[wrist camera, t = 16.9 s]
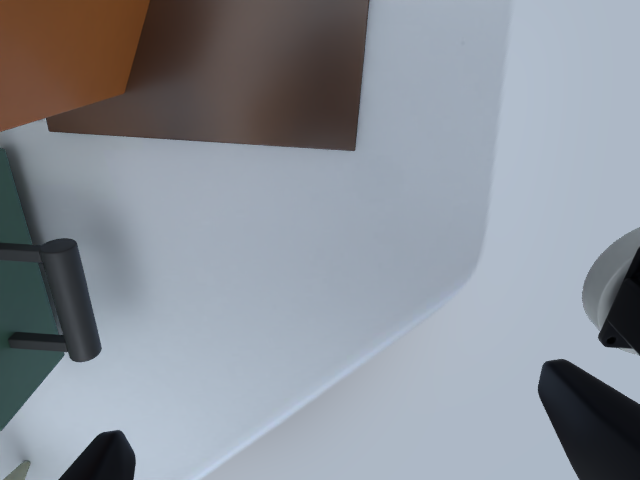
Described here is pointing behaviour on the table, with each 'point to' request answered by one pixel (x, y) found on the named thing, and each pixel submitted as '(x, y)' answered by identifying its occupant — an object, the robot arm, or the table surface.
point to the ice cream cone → (19, 472)
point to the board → (239, 75)
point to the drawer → (37, 304)
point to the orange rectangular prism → (64, 54)
